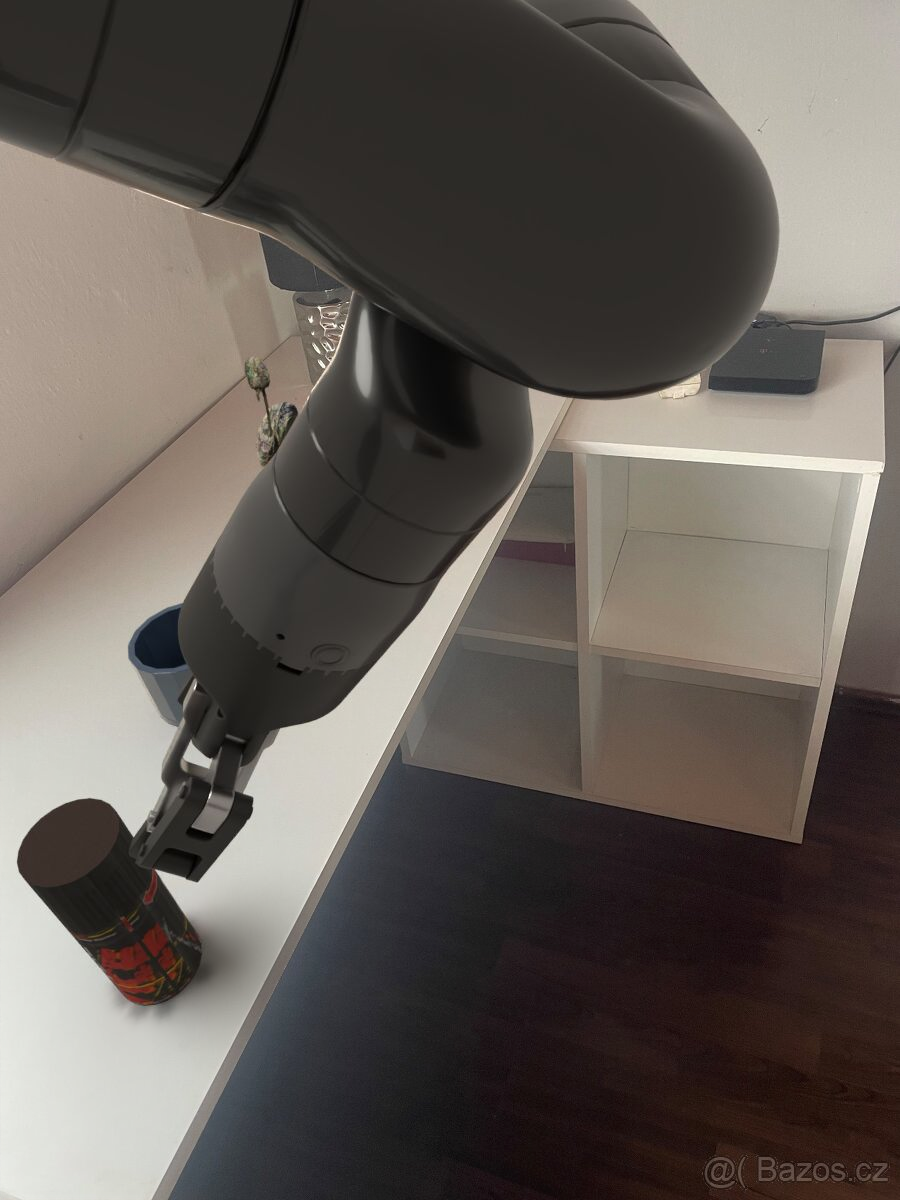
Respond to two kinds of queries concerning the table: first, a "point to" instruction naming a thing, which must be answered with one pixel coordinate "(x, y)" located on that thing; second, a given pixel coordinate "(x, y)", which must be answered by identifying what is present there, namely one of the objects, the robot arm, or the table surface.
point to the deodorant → (110, 900)
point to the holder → (160, 662)
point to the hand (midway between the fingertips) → (175, 775)
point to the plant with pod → (269, 412)
